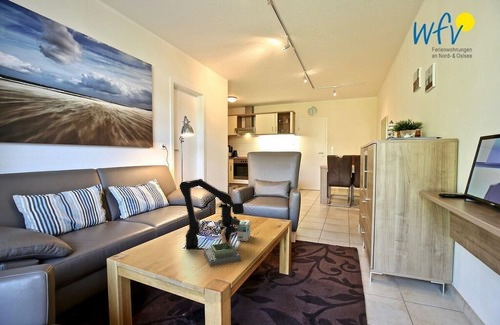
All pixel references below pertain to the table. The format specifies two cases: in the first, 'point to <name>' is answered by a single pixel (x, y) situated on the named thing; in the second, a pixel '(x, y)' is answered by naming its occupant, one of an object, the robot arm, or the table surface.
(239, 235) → the light bulb box
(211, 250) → the gearbox housing
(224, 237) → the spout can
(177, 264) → the table surface
